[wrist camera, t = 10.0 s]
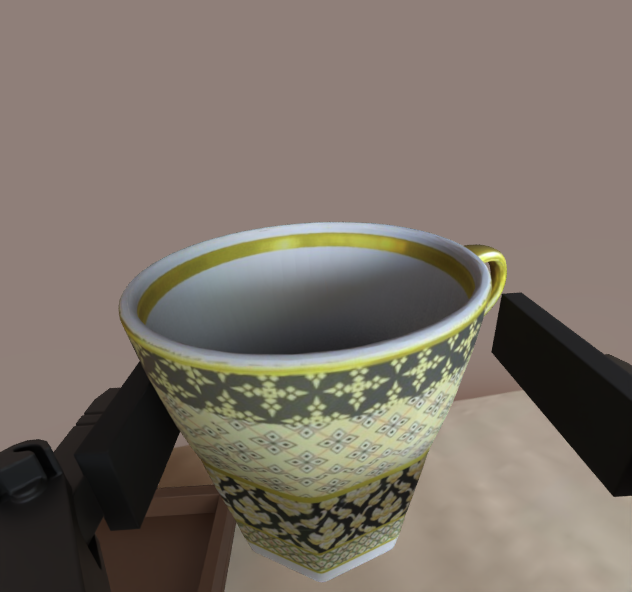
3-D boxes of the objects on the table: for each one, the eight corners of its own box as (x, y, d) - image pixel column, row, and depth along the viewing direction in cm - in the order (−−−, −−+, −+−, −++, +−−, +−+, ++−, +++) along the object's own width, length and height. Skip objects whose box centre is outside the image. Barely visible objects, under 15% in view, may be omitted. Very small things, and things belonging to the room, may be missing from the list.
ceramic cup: (215, 733, 9) (75, 440, 5) (190, 442, 17) (132, 246, 13) (579, 523, 13) (683, 263, 9) (413, 371, 21) (425, 202, 17)
